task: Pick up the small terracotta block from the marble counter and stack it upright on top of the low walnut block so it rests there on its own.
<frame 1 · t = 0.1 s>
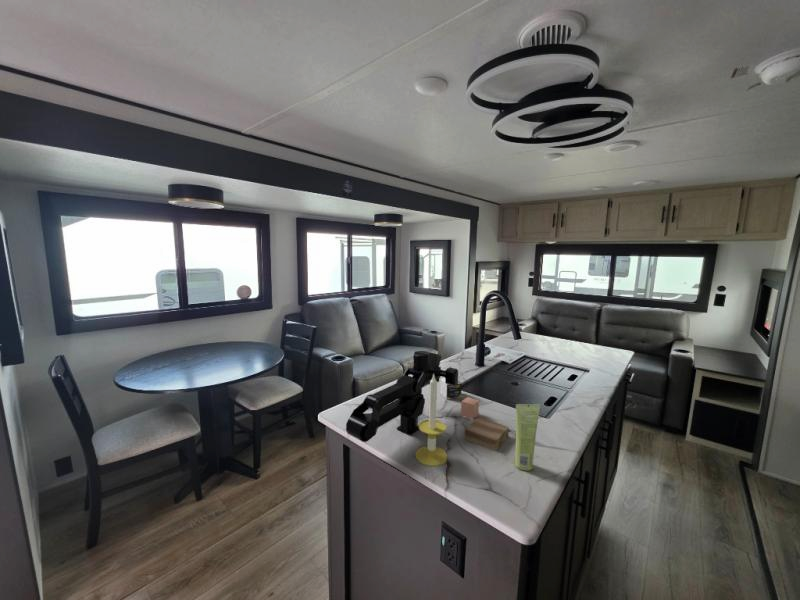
hand: (446, 367, 132), 17 cm above the worktop, tool horizontal, fingers open, 9 cm apart
walnut block: (486, 438, 110), on the worktop
terracotta block: (469, 415, 126), on the worktop
tube: (524, 466, 95), on the worktop
medicine bottle: (450, 395, 144), on the worktop
candle: (431, 456, 99), on the worktop
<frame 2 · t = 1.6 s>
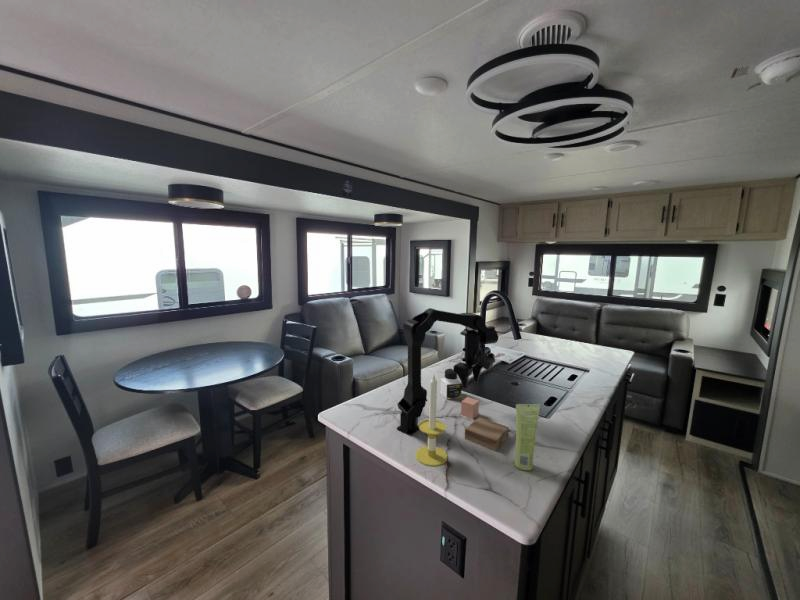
hand: (470, 384, 124), 13 cm above the worktop, tool pointing down, fingers open, 9 cm apart
nothing on the worktop moved.
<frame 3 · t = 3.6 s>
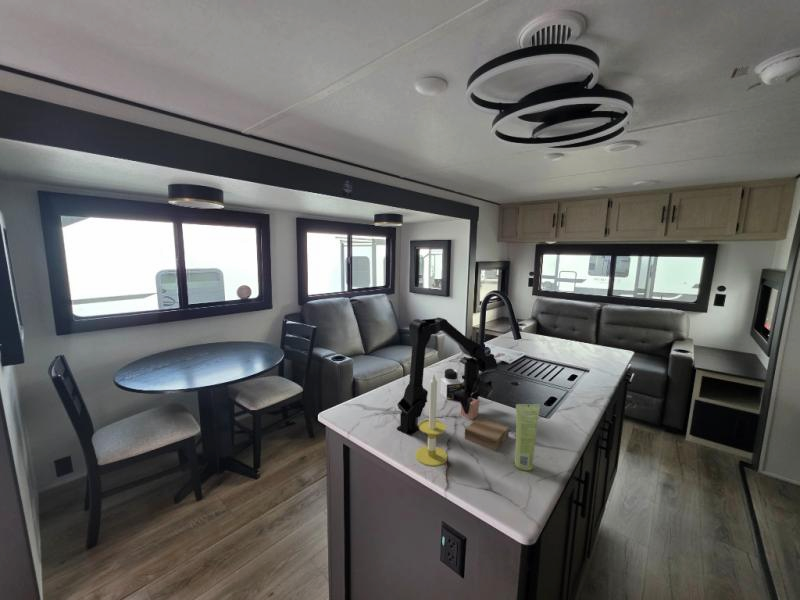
hand: (469, 411, 126), 2 cm above the worktop, tool pointing down, fingers closed on terracotta block, 5 cm apart
terracotta block: (469, 415, 126), on the worktop, touching gripper
everything else where it was.
when the fingers open (7 cm above the worktop, at t = 8.9 s): terracotta block drops 2 cm, point 4 cm above the worktop.
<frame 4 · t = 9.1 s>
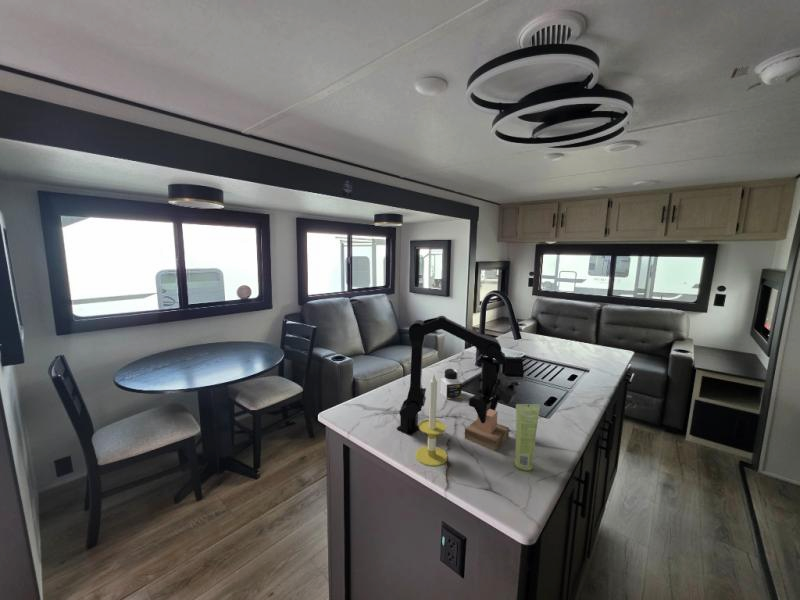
hand: (487, 418, 109), 7 cm above the worktop, tool pointing down, fingers open, 7 cm apart
terracotta block: (486, 428, 109), point 4 cm above the worktop
everything else where it was.
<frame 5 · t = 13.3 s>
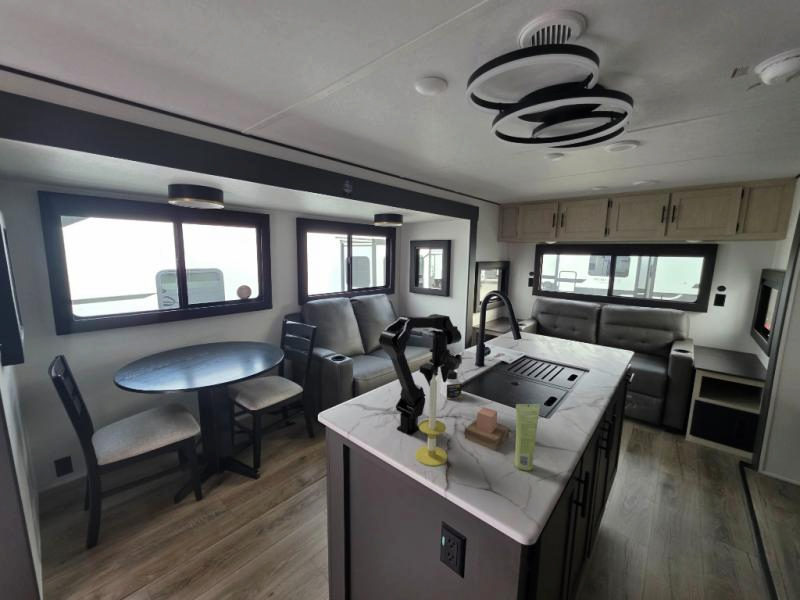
hand: (438, 385, 124), 12 cm above the worktop, tool pointing down, fingers open, 9 cm apart
walnut block: (486, 438, 110), on the worktop, touching terracotta block
terracotta block: (486, 428, 109), point 4 cm above the worktop, touching walnut block
everything else where it was.
at the end: terracotta block inside the target area on the walnut block (0.4 cm from its centre), point 4.0 cm above the walnut block's base; terracotta block tilted 1°; terracotta block touching walnut block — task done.
